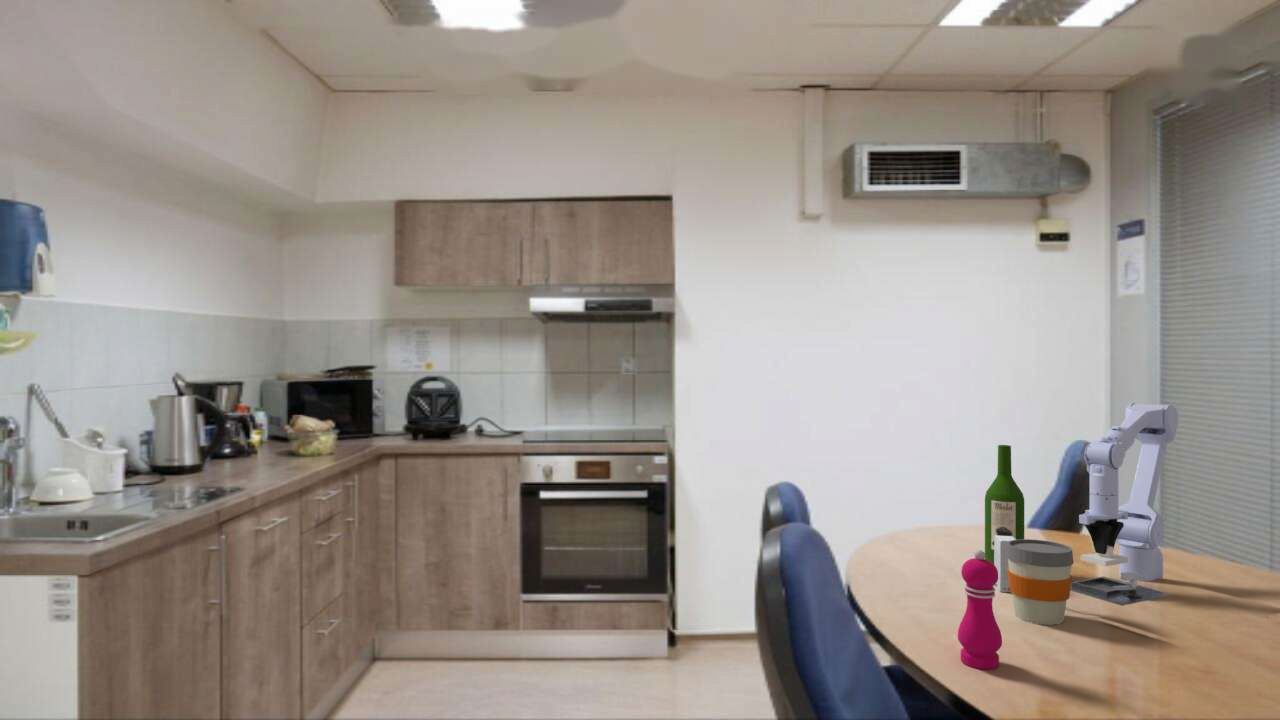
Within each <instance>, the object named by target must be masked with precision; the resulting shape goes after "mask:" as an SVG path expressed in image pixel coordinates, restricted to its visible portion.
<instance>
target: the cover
mask: <svg viewBox="0 0 1280 720" xmlns="http://www.w3.org/2000/svg"><path fill="white" fill-rule="evenodd" d="M1079 559H1080V561H1083V562H1087V563H1090V564H1094V565H1098V566H1102V567H1110V566H1115V565H1116V566H1117V565H1119V564H1122V563H1128V557H1125V556H1121V555H1119V554H1115V553H1114V549H1113V547H1112V546H1107V551H1106V554H1100V553H1096V552H1089V553H1084V554H1080V558H1079Z"/></svg>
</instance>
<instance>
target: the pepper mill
mask: <svg viewBox="0 0 1280 720" xmlns="http://www.w3.org/2000/svg"><path fill="white" fill-rule="evenodd" d="M973 554H974V558H970V559H967V560H966V561H965V562H964V563H963V564H962V566H961V572H960V573H961V577H962V579H963V580H964V582H965V584H964V594H965V595H966V597H967V601H966V602H967V603H966V609H965V613H964V616H963V617H962V620H961V622H960V624H959V627H958V631H957V640H958V642H959V643H960V644H961V646H962V648H961V649H960V661H961V662H962V664H963V665H966V666H967V667H971V668H974V669H977V670H978V669H979V670H995V669H998V668H999V666H1000V654H998V653H997V652H998V651H999V650H1000V649H1001V647H1002V645H1003V636H1002V633H1001V629H1000V627H999V625H998V623H997V620H996V618H995V615H994V614H995V613H994V609H993V599H994V598H995V597H996V592H995V591H996V587H995V584H997V583H996V582H997V581H998V570H997V568H996V566H995V565H994V564H993V563H992V562H990V561H988V560H986V559H985V551H983V550H981V549H977V550H975V551H974V553H973Z"/></svg>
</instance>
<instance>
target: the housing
mask: <svg viewBox="0 0 1280 720" xmlns="http://www.w3.org/2000/svg"><path fill="white" fill-rule="evenodd" d="M1122 585H1129V582H1127V581H1124V580H1123V581H1122V580H1118V579H1115V578H1111V577H1108V576H1098V577H1093V578H1087V579H1082V580H1076V581H1072V582H1071V589H1070V592H1074V593H1077V594H1081V595H1084V596H1087V597H1091V598H1094V599H1098V600H1100V601H1101V600H1102V601H1105V602H1108V603H1110V604H1114V605H1118V606H1126V605H1131V604H1137V603H1140V602H1146V601H1150V600H1157V599H1161V598H1166V597H1170V596H1173V594H1172V593H1168V592H1165V591H1161V590H1157V589H1153V588H1150V587H1145V586H1142V585H1138V584H1137V594H1130V593H1129V590H1115V589H1112V586H1122Z"/></svg>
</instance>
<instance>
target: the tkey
mask: <svg viewBox="0 0 1280 720" xmlns="http://www.w3.org/2000/svg"><path fill="white" fill-rule="evenodd" d="M1120 579H1121V581H1122V580H1123V581H1129V582H1128V583H1129V585H1122V586H1112V589H1115V590H1129V593H1130V594H1137V585H1138V583H1137V582H1138V581H1137V580H1145V573H1143V572H1124V573H1121V576H1120Z"/></svg>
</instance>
